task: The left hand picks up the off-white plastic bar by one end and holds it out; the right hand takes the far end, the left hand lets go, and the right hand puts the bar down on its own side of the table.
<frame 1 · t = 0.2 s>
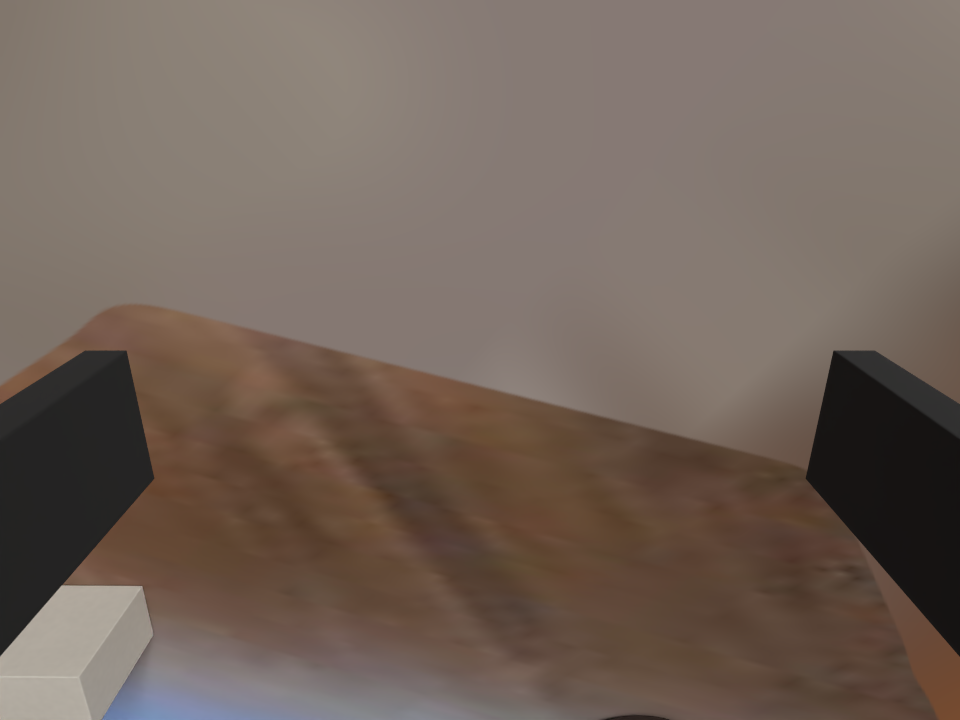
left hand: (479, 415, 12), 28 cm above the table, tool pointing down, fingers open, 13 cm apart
bar: (1, 609, 49), on the table
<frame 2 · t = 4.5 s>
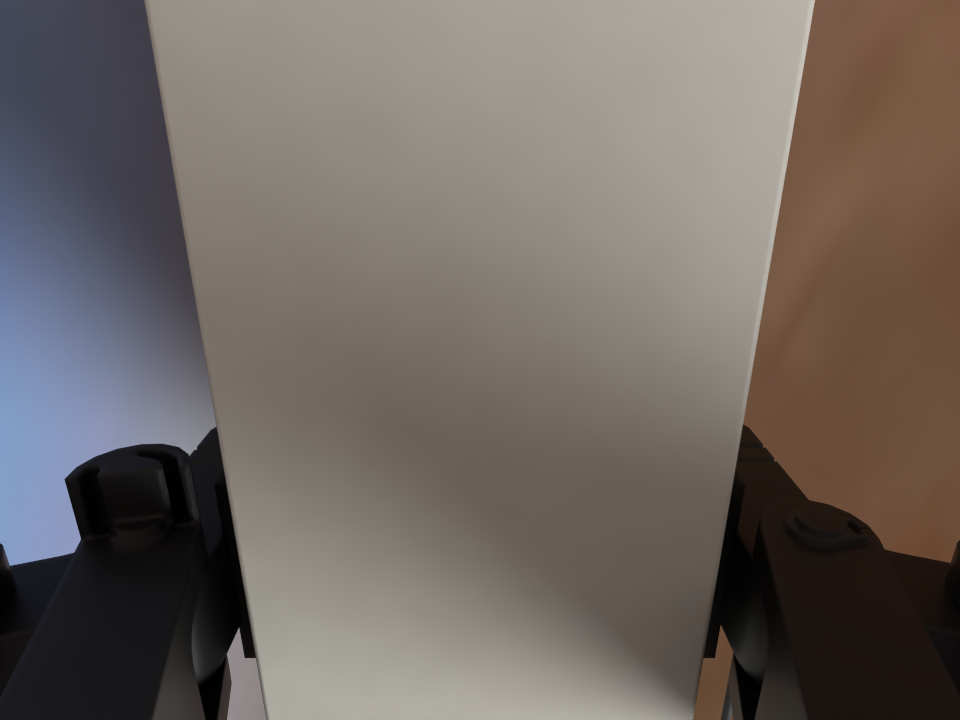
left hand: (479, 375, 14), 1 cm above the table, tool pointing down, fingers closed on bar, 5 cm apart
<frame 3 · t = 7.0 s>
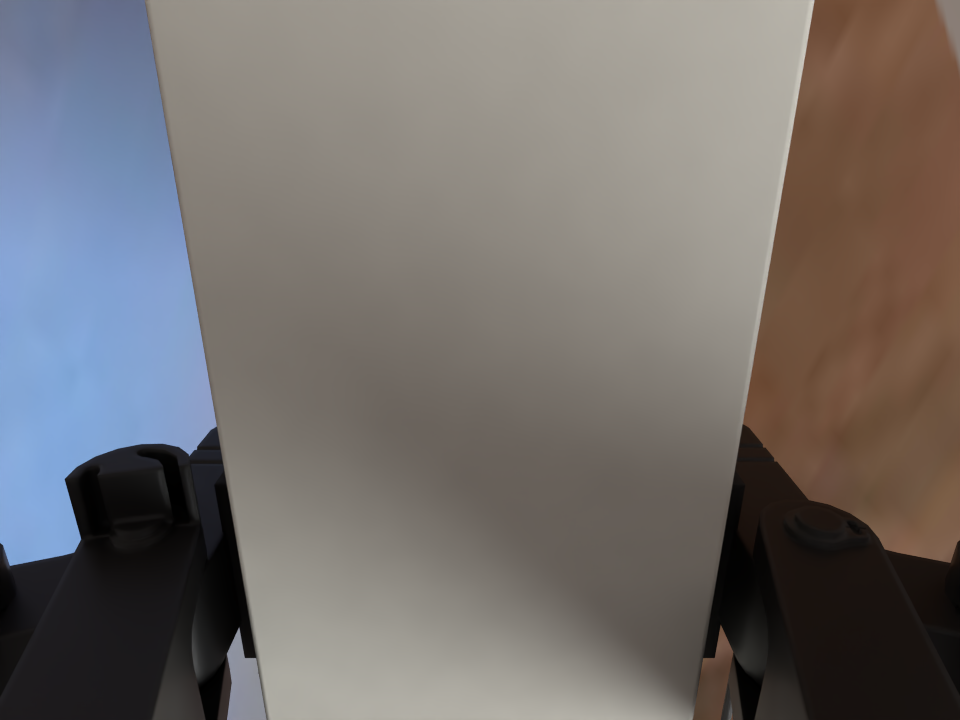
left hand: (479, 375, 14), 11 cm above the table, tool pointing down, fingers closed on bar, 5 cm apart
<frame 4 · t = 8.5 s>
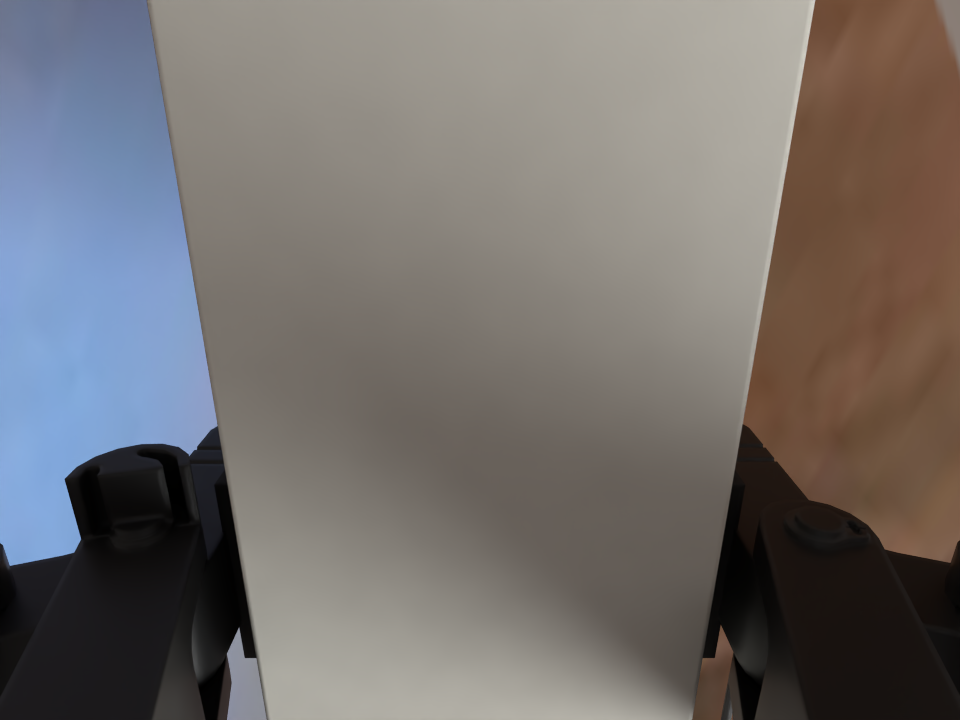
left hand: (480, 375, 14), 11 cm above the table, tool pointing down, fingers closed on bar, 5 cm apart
when the left hand's fingers open (11 cm above the table, at t = 9.5 s): bar stays where it is, held by the right hand.
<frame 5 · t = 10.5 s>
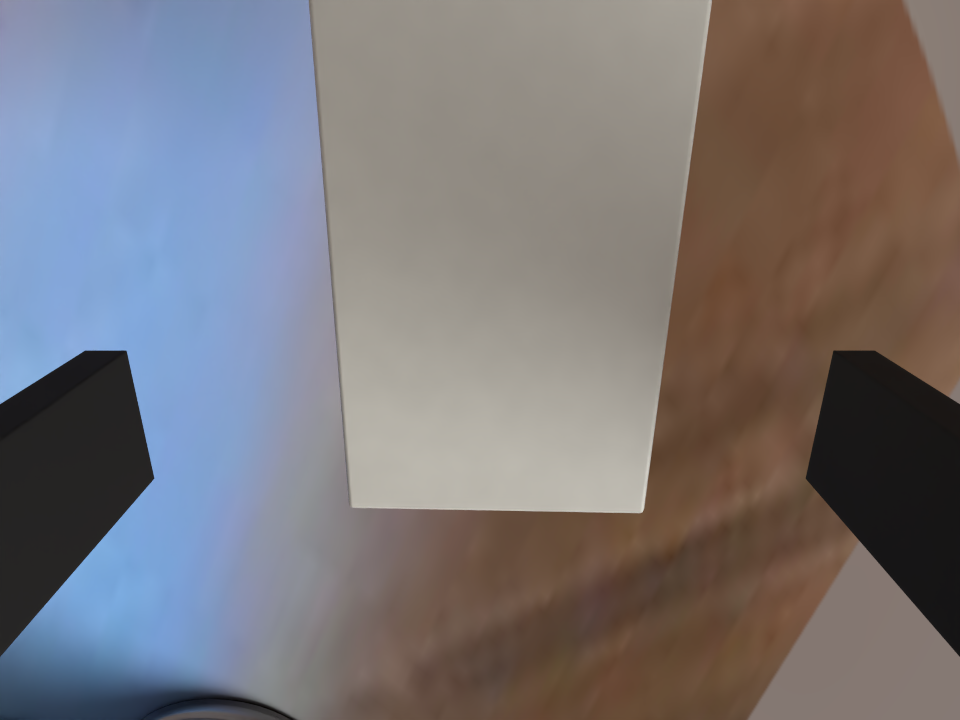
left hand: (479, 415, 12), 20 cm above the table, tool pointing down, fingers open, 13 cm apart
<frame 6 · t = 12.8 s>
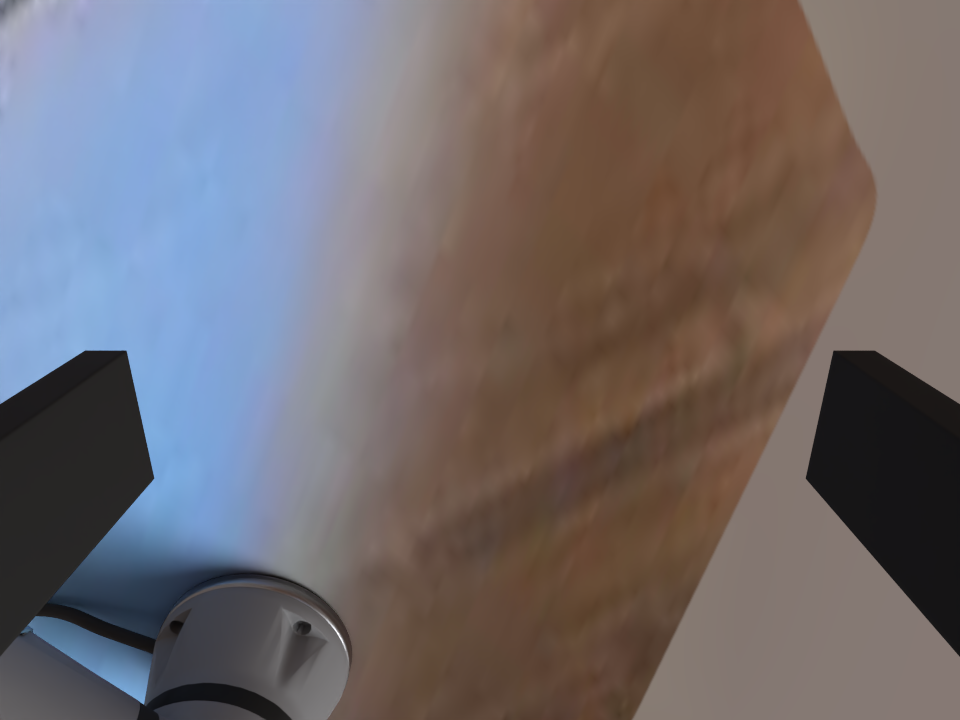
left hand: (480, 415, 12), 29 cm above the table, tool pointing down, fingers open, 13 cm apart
when the right hand's fingers open (4 cm above the table, at t = 17.0 s): bar stays where it is, on the table.
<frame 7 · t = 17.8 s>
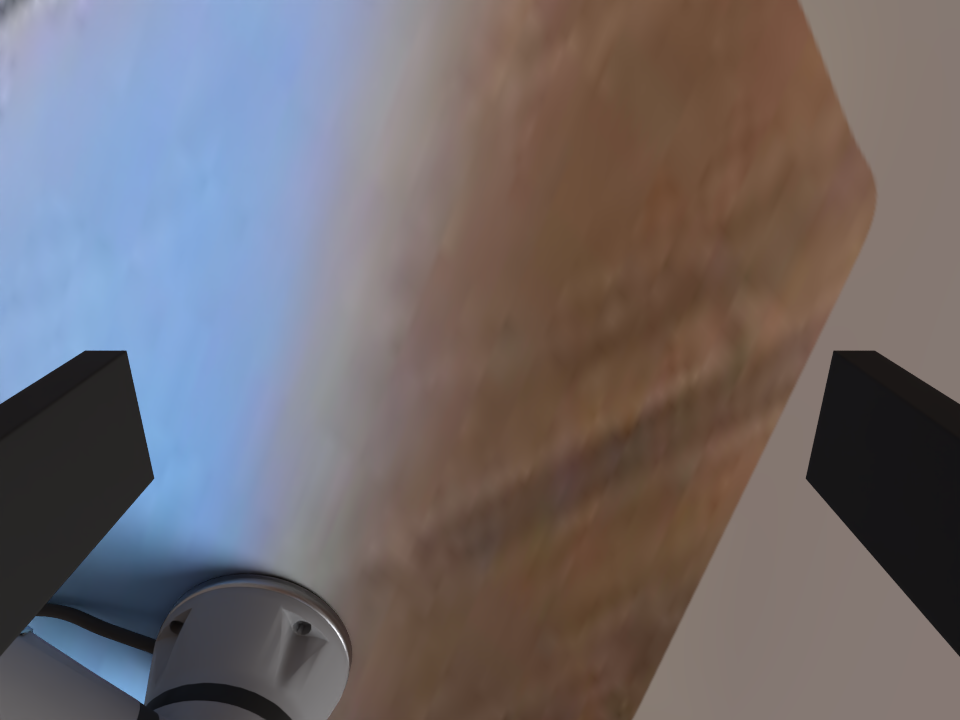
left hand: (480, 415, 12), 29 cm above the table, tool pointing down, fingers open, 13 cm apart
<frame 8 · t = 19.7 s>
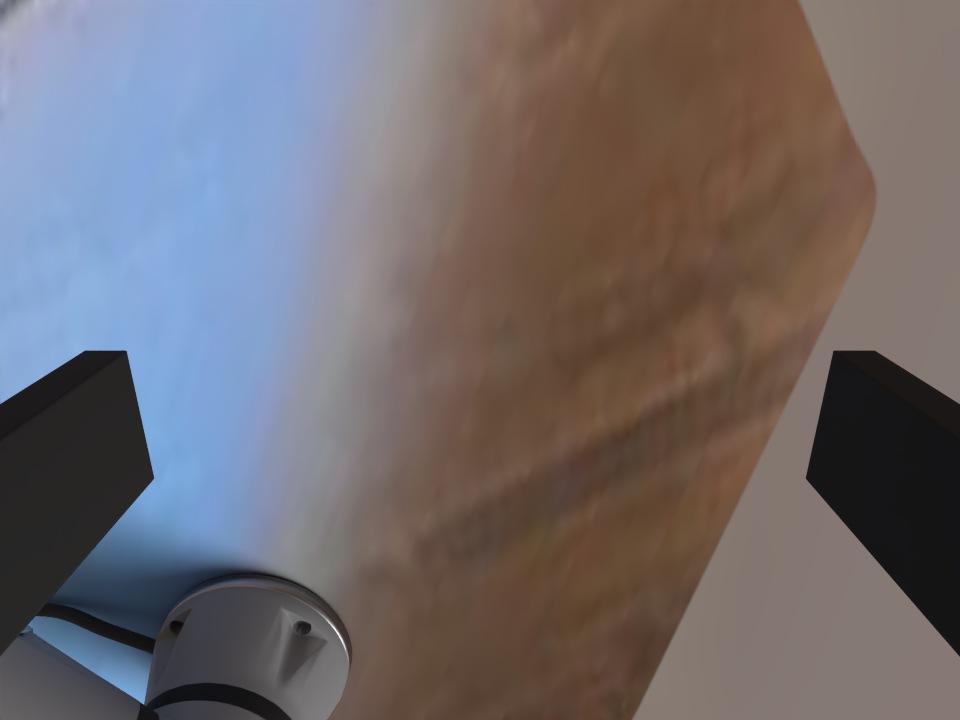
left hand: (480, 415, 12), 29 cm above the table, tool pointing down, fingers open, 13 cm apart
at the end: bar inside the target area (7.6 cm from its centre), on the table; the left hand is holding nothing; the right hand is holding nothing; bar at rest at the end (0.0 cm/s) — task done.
